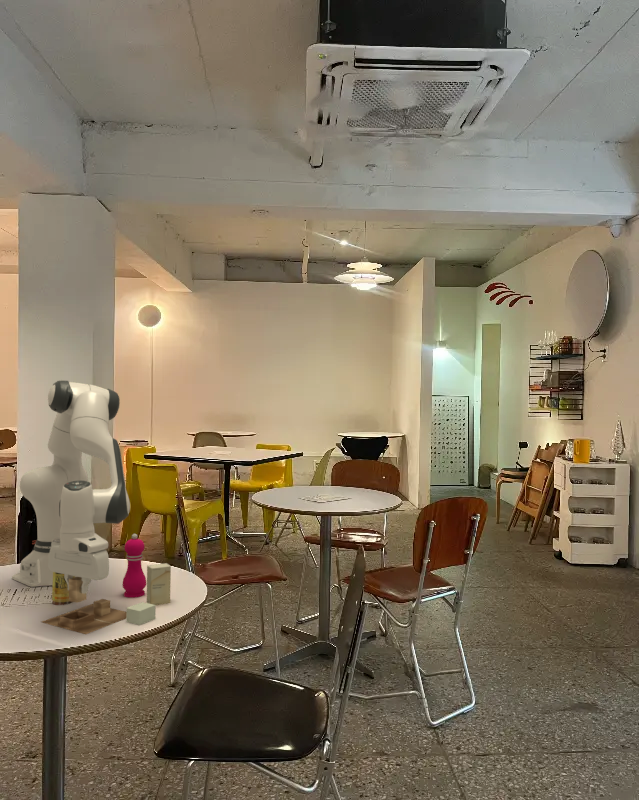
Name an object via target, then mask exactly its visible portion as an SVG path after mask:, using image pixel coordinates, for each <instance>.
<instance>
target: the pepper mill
mask: <svg viewBox="0 0 639 800" xmlns="http://www.w3.org/2000/svg"><path fill="white" fill-rule="evenodd" d="M145 546H146V545H145V543H144V541H143V540H142V539H141V538H138V534H136V533H133V534H131V538H130V539H128V540H127V541H126V542H125V544H124V551H125V553H126V555H125V556H126V557H125V558H126V560H127V568H126V571H125V574H124V576H123V580H122V585H121V586H122V588H123V590H125V591H124V592H123V596H124V597H125V598H132V599H133V598H135V599H136V598H140V597H143V596H145V593H146V591H145V588H146V587H147V577H146V576H145V573H144V571H143V568H142V560H143V558H144V557H143V556H144V554H143V552H144V551H145Z"/></svg>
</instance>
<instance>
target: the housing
mask: <svg viewBox="0 0 639 800" xmlns="http://www.w3.org/2000/svg"><path fill="white" fill-rule="evenodd" d="M156 606H157V605H153V604H149V603H147V602H144V601H142V602H139V603H136V604H134V605H131V606H128V607H126V611H125V612H126V619H125V620H126V623H130V624H134V625H138V626H141V625H143V624H146V623H149V622H151V621H153V620H156Z"/></svg>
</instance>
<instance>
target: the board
mask: <svg viewBox="0 0 639 800" xmlns="http://www.w3.org/2000/svg"><path fill="white" fill-rule="evenodd" d="M124 620H126V611H124V610H121V609H120V610H119V609H115V608H112V607H111V600H109V599H105V598H101V599H98V600H94V601H93V603H91V604H88V605H85V606H82V607H80V608H76V609H73V610H71V611H67V612H66V613H62V614H59V615H57V616H54V617H51V618H48V619H45V620H42V621H41V623H43V624H46V625H50V626H53V627H57V628H60V629H65V630H68V631H71V632H76V633H79V634H83V635H88V634H91V633H93V632H95V631H98V630H102V629H103V628H106V627H108V626H111V625H113V624H116V623H118V622H120V621H124Z"/></svg>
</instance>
